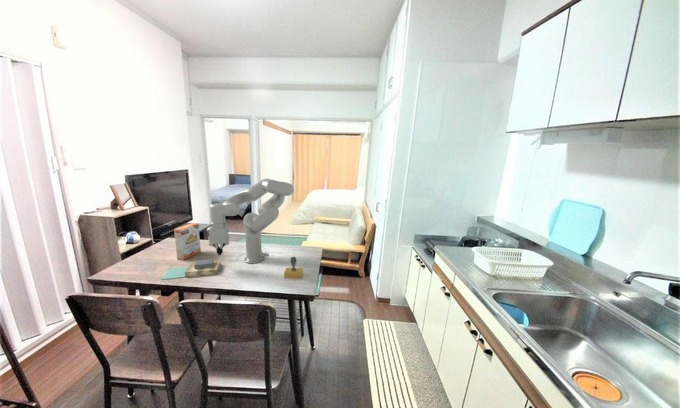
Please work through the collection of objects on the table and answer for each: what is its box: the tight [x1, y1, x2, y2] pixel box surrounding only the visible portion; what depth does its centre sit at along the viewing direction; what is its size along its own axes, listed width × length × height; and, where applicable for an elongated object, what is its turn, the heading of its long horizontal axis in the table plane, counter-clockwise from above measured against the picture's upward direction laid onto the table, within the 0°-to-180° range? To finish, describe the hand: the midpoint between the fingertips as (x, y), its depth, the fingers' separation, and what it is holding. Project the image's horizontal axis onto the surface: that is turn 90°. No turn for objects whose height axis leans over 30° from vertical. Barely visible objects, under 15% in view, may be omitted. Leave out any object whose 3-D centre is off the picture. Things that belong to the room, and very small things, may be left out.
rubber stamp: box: [283, 256, 304, 279], centre depth 137 cm, size 10×6×12 cm, turn 92°
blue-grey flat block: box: [194, 258, 215, 269], centre depth 140 cm, size 9×6×2 cm, turn 107°
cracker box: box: [173, 222, 202, 261], centre depth 157 cm, size 14×6×21 cm, turn 167°
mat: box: [160, 266, 189, 281], centre depth 137 cm, size 11×12×1 cm
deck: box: [184, 259, 221, 278], centre depth 141 cm, size 16×12×3 cm
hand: (219, 254), depth 141 cm, fingers closed
